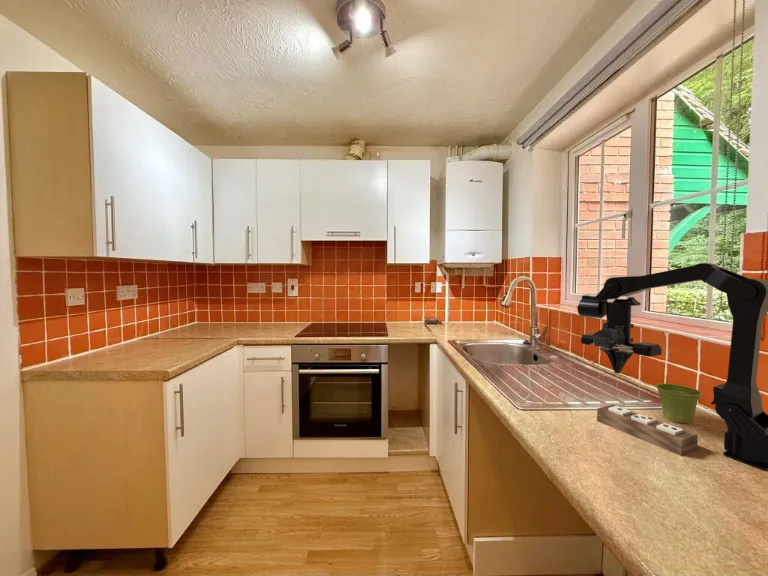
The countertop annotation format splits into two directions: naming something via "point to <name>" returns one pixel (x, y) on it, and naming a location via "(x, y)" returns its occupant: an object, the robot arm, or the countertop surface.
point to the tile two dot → (670, 429)
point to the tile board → (649, 431)
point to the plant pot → (678, 402)
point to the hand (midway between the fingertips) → (617, 373)
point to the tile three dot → (643, 419)
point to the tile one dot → (619, 410)
